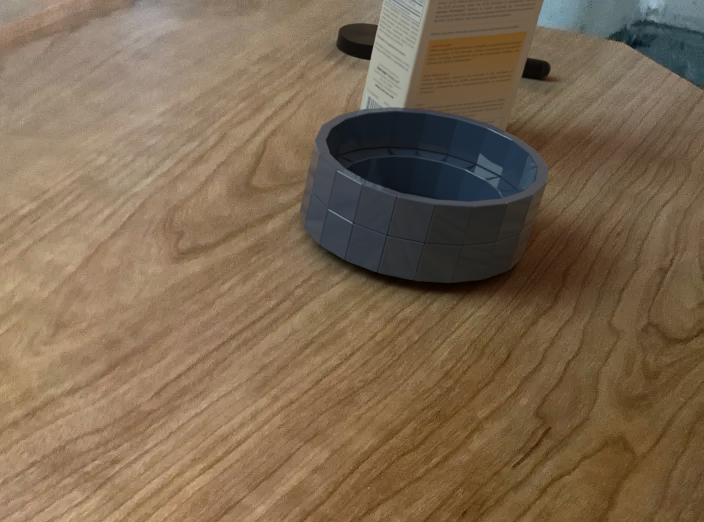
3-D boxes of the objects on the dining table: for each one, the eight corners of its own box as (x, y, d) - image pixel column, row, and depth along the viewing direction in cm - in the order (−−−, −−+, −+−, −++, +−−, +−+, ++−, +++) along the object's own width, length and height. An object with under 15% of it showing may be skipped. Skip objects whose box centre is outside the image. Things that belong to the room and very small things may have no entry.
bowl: (404, 172, 85) (424, 92, 81) (566, 258, 77) (596, 174, 74) (253, 216, 79) (269, 132, 76) (413, 314, 72) (437, 226, 68)
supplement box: (460, 117, 91) (519, -94, 83) (503, 148, 88) (568, -69, 79) (350, 128, 89) (398, -87, 81) (389, 161, 86) (444, -61, 77)
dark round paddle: (549, 68, 99) (554, 51, 98) (545, 90, 96) (551, 73, 95) (341, 32, 102) (345, 16, 102) (331, 52, 99) (334, 36, 98)
